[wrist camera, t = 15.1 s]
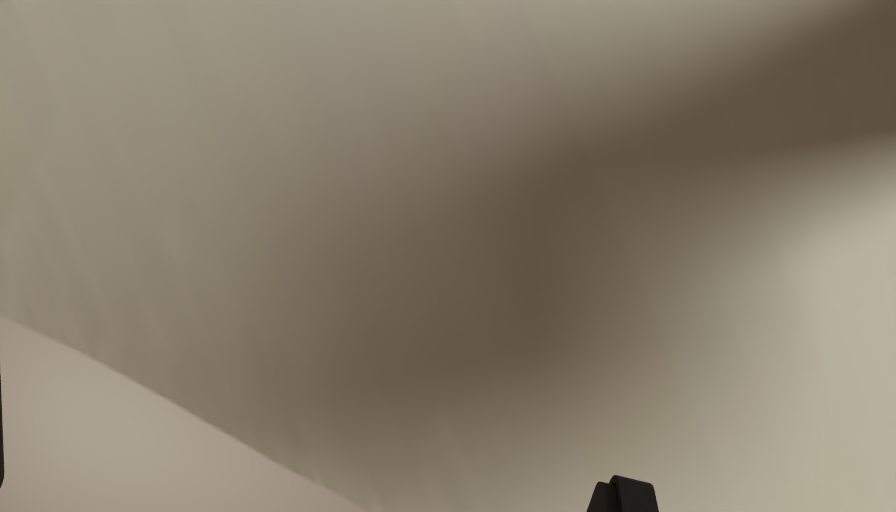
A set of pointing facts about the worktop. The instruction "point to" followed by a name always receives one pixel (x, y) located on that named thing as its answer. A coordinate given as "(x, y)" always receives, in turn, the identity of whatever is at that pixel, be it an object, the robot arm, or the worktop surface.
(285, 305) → the worktop surface
